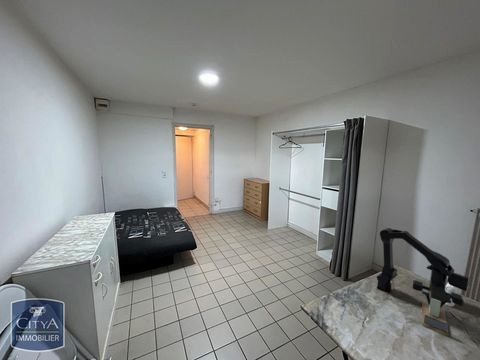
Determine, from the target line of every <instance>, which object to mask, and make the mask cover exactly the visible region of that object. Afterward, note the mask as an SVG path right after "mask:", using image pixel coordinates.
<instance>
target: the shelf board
mask: <svg viewBox="0 0 480 360" xmlns="http://www.w3.org/2000/svg"><path fill="white" fill-rule="evenodd" d="M425 315H427V316H429V317H432V318H434V319H437V320H439V321H442V322H444V323H447V324H448V322H447V315H446V310H445V309H444V308H443V307H441V308H440V312H439V318H438V317H436V316H433V315H431V314H429V304H428V302H426V301H423V300H422V301H421V325H422V326H423V327H425V328H427V329H430V330H432V331H434V332H436V333H439V334H441V335H442V336H443V335H444V336H445V337H449V329H447V333H446V332H444V331H441V330H439V329H437V328H434V327H432V326H430V325H427V324H425V323H424V316H425Z"/></svg>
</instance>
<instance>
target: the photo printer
mask: <svg viewBox="0 0 480 360" xmlns="http://www.w3.org/2000/svg"><path fill="white" fill-rule="evenodd" d="M445 292H447V293H449V294H451V292H453V293H456V294H458V293H459V288H456V287H454V286H451V285H450V284H449V282H446V285H445ZM444 305H446V306H448V307H454V306H455V305H456V304H455V303H453V302H452V299H451V303H445V304H444Z"/></svg>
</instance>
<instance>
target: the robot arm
mask: <svg viewBox="0 0 480 360" xmlns="http://www.w3.org/2000/svg"><path fill="white" fill-rule="evenodd" d="M379 236H380V240H381V242H382V244H383V245H382V246H383V247H382V249H383V251H382V252H383V267H382V269H381V273H379V274H378V275H377V276H376V279H377V284H376V285H377V286H376V289H377V290H380V291H382V292H385V293H388V294H390V293H391V291H392V285H393V283H392V282H391V281H393V280H394V279H395V278H396V277H397V276H398V268H395V267H394V259H393V258H394V256H393V255H394V254H393V252H394V251H393V243H394V241H395V239H397V240H398V239H399V240H400V239H402V240H403V241H405V242H406V243H407V244H409V245H410V246H411V247H413V248H414V249H415V250H416V251H418V252H419V253H420V254H421V255H422V256H424V258H426V260H427V262H428V263H429V265H427V266H426V269H427V270H430V280H429V286H426V285H423V282H421V281H419V280H415V279H414V280H413V281H412V289H413V290H416V291H417V292H421V293H422V294H423V295H425V297H426V300H427V303H428V304H429V305H430V293H431V298H433V299H436V300H439V301H441V305H440V308H443V306H444V305H446V304H445V303H451V299H452V302H453V303H455V305H457V306H461V307H463V306H464V302H465V300H464V298H463V296H462V295H461V294H456V293H453V292H451V294H449V293H447V292H445V289H446V285H447V283H448V282H449V284H450V285H451V286H454V287H456V288H458V290H462V291H465V292H468V291H469V288H470V284H471V283H470V277H469V276H467V275H462V274H459V273H457V272H455V269H454V268H453V266H452V265H451V263H450V260H449V258H447V257H446V256H444V255H442V254H441V253H439V252H437V251H434V250H432V249H430V248H429V247H428V246H427V245H425V244H424V243H422V242H421V241H420V240H419V239H417V238H416V237H415V236H413V235H412V234H411V233H409V231H407V230H401V229H393V228H391V227H385V228H384V229H381V231H379Z"/></svg>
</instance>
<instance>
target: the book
mask: <svg viewBox="0 0 480 360" xmlns="http://www.w3.org/2000/svg"><path fill="white" fill-rule="evenodd" d="M429 294H430V305H429V314H431V315H433V316H436V317H438V318H439V312H440V305H441V301H439V300H436V299H433V298H431V292H429Z"/></svg>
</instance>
